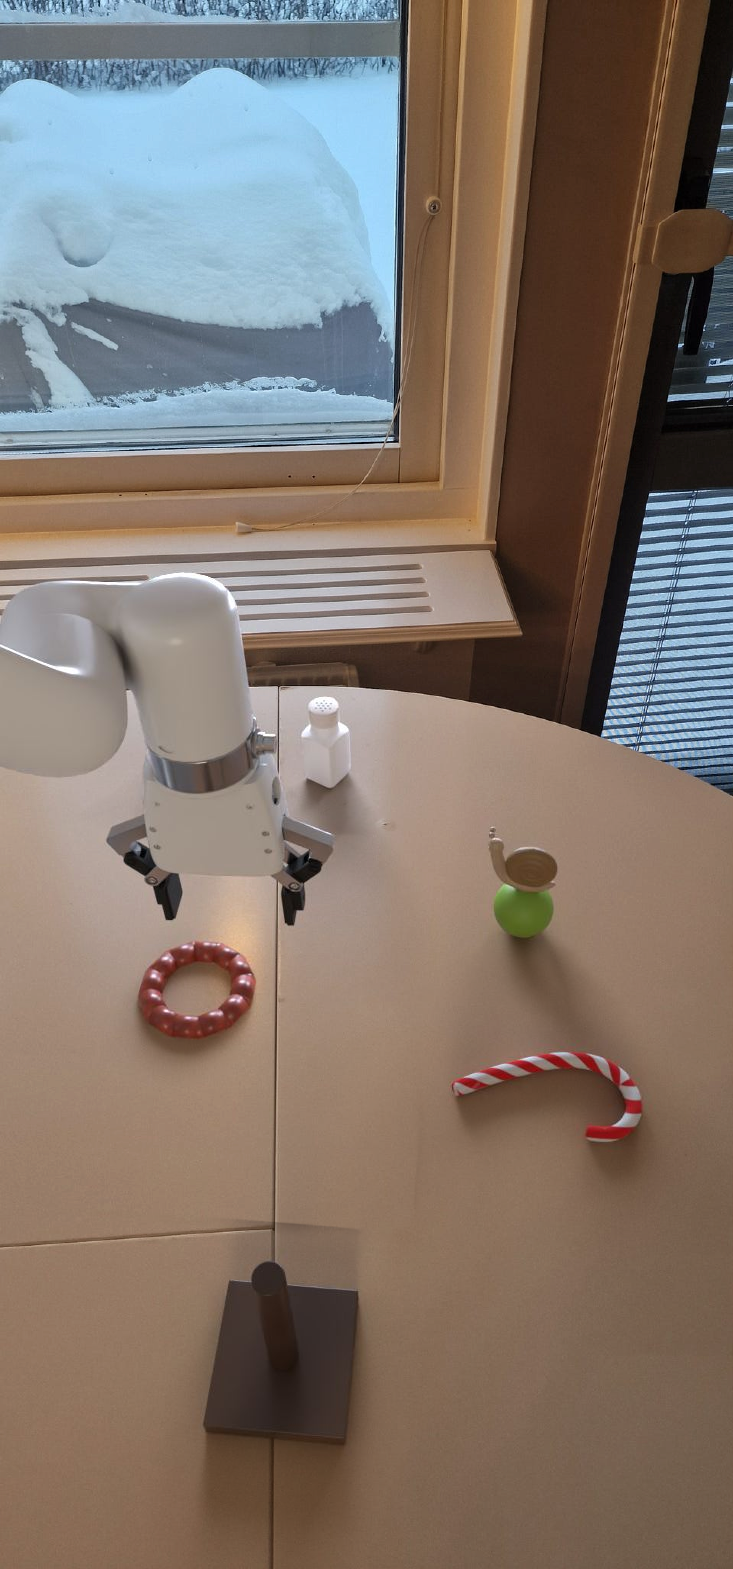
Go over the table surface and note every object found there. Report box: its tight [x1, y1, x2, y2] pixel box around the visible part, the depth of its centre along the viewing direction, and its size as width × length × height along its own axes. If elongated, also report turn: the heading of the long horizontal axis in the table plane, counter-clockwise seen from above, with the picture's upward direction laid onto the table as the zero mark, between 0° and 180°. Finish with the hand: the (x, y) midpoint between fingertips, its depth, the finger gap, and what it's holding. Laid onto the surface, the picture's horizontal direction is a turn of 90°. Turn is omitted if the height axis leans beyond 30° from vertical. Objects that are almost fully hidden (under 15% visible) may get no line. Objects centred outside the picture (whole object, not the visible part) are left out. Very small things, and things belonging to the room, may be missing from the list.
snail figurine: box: [487, 826, 559, 938], centre depth 93 cm, size 5×6×12 cm
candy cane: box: [451, 1051, 643, 1143], centre depth 83 cm, size 8×1×15 cm
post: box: [202, 1260, 359, 1446], centre depth 65 cm, size 9×9×14 cm
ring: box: [137, 940, 257, 1040], centre depth 91 cm, size 10×10×2 cm
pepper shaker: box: [300, 696, 352, 789], centre depth 110 cm, size 4×4×10 cm
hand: (233, 909), depth 83 cm, fingers open, 9 cm apart
